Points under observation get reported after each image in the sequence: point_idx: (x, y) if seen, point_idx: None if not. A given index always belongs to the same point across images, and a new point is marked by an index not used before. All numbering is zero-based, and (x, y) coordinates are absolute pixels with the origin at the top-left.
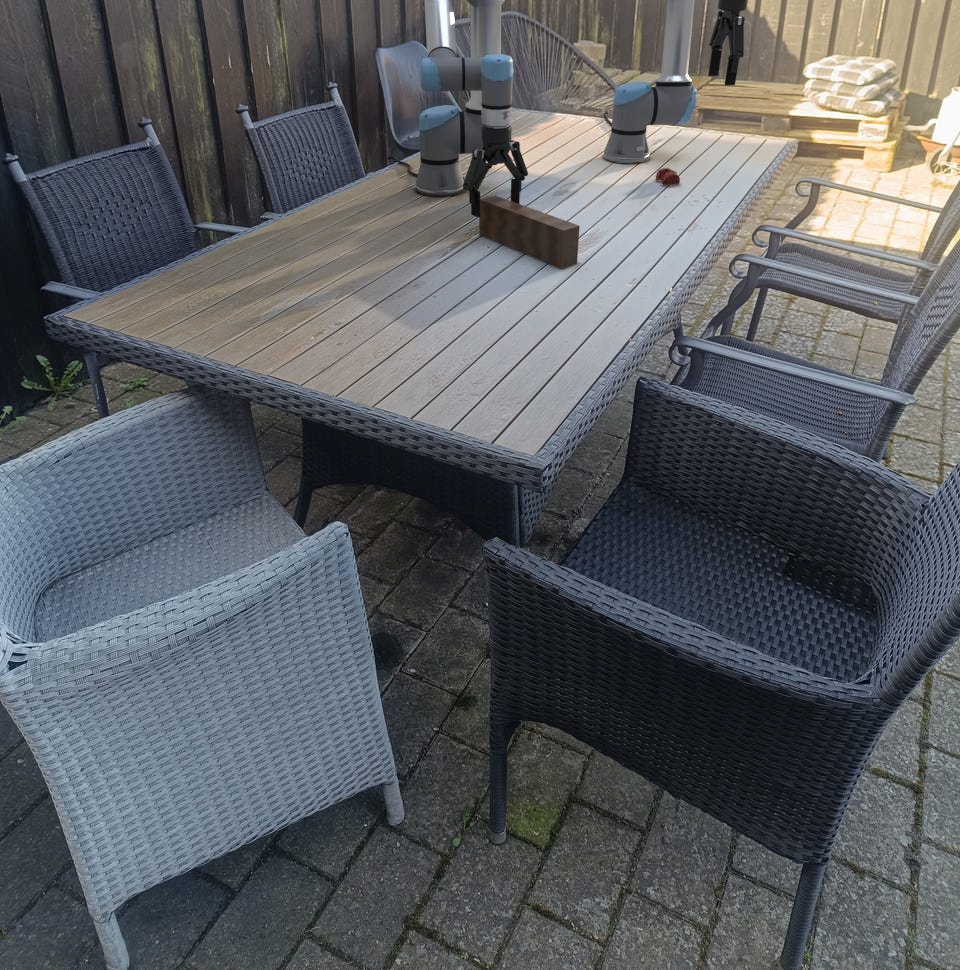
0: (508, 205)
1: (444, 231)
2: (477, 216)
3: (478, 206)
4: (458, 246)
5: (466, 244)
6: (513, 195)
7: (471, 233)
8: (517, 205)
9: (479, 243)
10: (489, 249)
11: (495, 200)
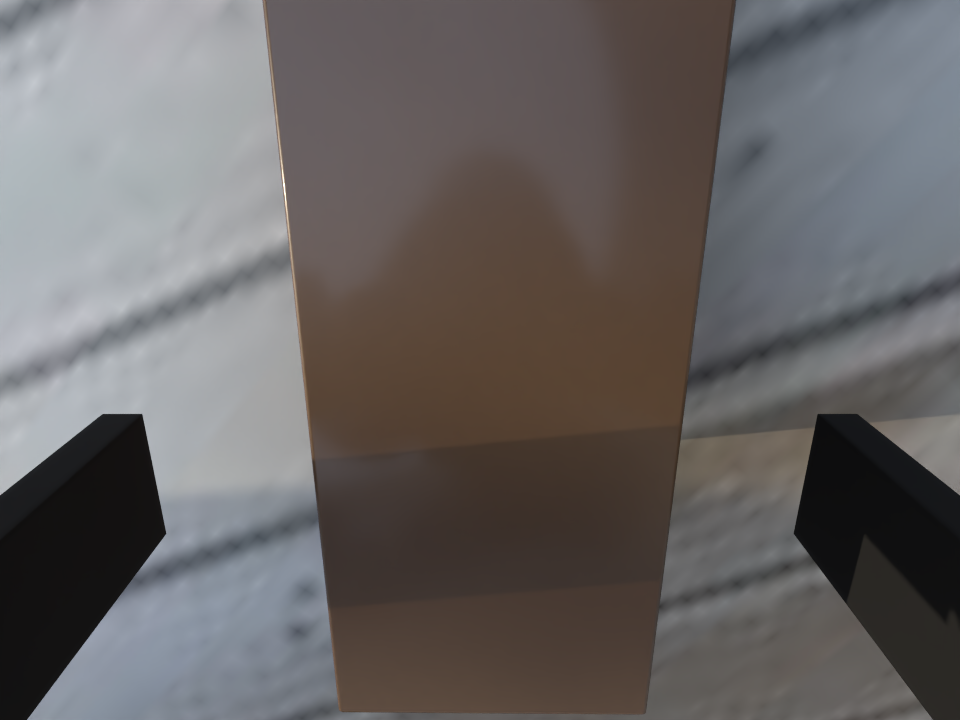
0: (519, 204)
1: (714, 653)
2: (863, 426)
3: (944, 495)
4: (912, 355)
5: (826, 349)
6: (87, 567)
7: None
8: (372, 78)
9: (728, 295)
10: (788, 104)
11: (501, 548)
